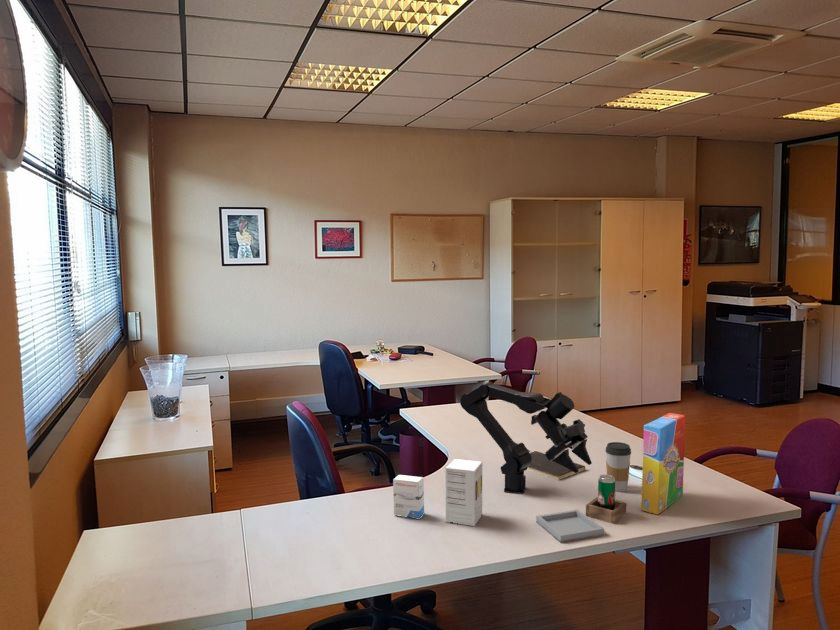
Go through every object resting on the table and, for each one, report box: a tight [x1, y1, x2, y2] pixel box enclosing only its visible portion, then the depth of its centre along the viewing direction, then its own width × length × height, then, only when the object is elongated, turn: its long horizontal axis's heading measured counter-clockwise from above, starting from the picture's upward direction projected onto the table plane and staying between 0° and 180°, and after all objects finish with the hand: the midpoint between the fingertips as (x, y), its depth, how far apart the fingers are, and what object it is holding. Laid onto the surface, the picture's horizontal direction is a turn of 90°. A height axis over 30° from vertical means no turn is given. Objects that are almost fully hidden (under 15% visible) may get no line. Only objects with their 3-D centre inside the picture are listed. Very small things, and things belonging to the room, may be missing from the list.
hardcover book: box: [527, 450, 586, 481], centre depth 236 cm, size 16×23×2 cm
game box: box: [640, 412, 686, 515], centre depth 200 cm, size 21×6×27 cm, turn 137°
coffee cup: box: [605, 441, 632, 493], centre depth 213 cm, size 8×8×15 cm
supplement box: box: [444, 458, 483, 527], centre depth 191 cm, size 10×9×17 cm
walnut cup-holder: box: [585, 496, 628, 525], centre depth 193 cm, size 9×9×4 cm
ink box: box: [392, 474, 425, 519], centre depth 194 cm, size 8×5×12 cm, turn 71°
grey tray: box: [535, 509, 605, 544], centre depth 183 cm, size 14×14×2 cm
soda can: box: [597, 474, 616, 511], centre depth 192 cm, size 5×5×12 cm
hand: (584, 468), depth 196 cm, fingers open, 9 cm apart
